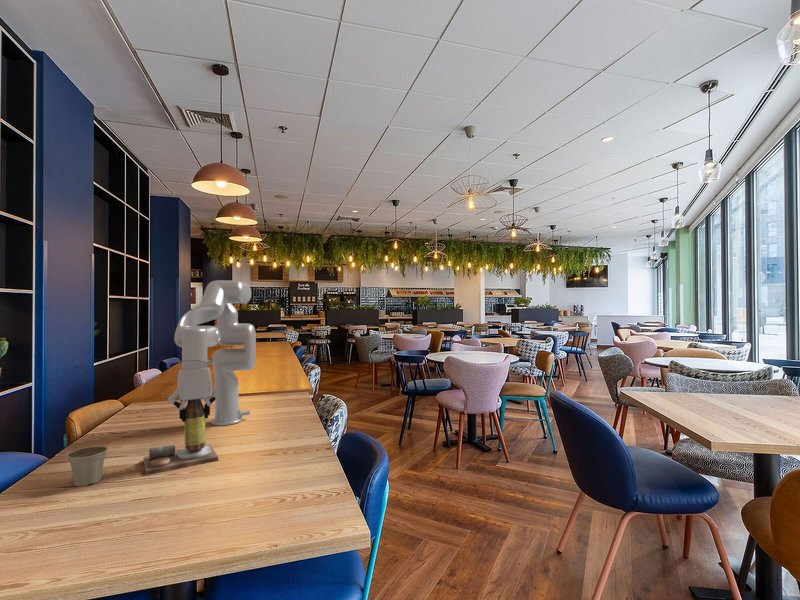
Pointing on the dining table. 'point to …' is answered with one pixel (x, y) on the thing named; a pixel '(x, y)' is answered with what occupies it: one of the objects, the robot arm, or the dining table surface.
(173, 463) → the board
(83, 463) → the flower pot
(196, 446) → the sauce bottle
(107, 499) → the dining table surface
